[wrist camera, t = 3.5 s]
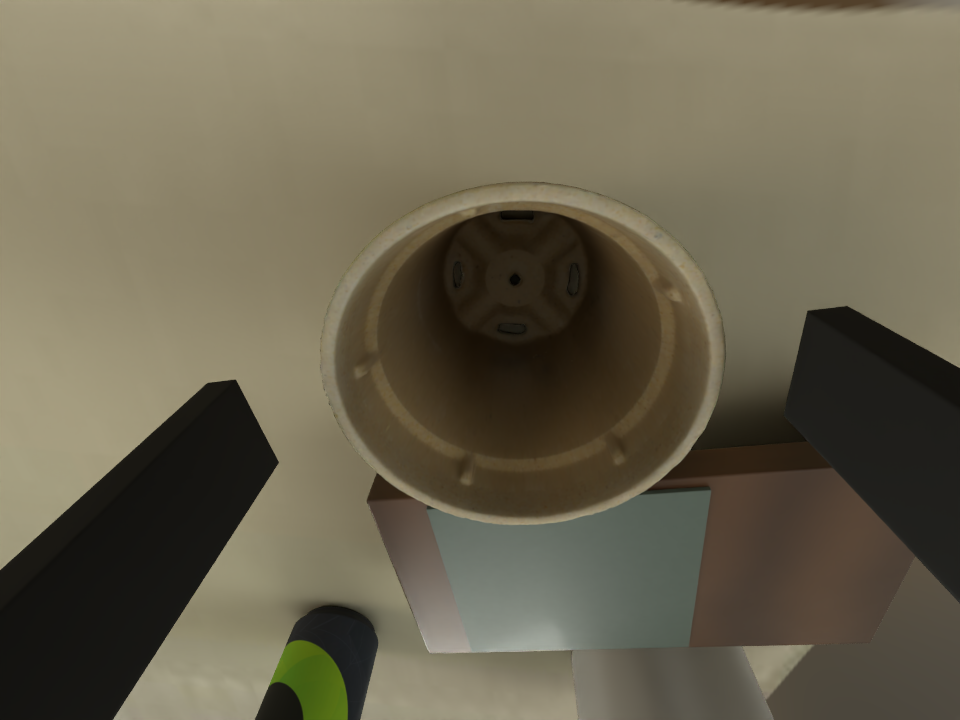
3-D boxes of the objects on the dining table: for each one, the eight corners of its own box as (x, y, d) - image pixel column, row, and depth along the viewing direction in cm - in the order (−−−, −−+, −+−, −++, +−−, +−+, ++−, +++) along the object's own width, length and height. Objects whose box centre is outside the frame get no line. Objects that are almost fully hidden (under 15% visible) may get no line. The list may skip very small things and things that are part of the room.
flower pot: (457, 397, 21) (429, 556, 13) (356, 212, 17) (234, 292, 9) (652, 333, 19) (750, 481, 11) (592, 101, 14) (683, 86, 7)
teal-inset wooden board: (864, 380, 19) (975, 461, 15) (807, 552, 25) (873, 648, 20) (393, 424, 22) (363, 505, 17) (441, 569, 28) (428, 658, 23)
